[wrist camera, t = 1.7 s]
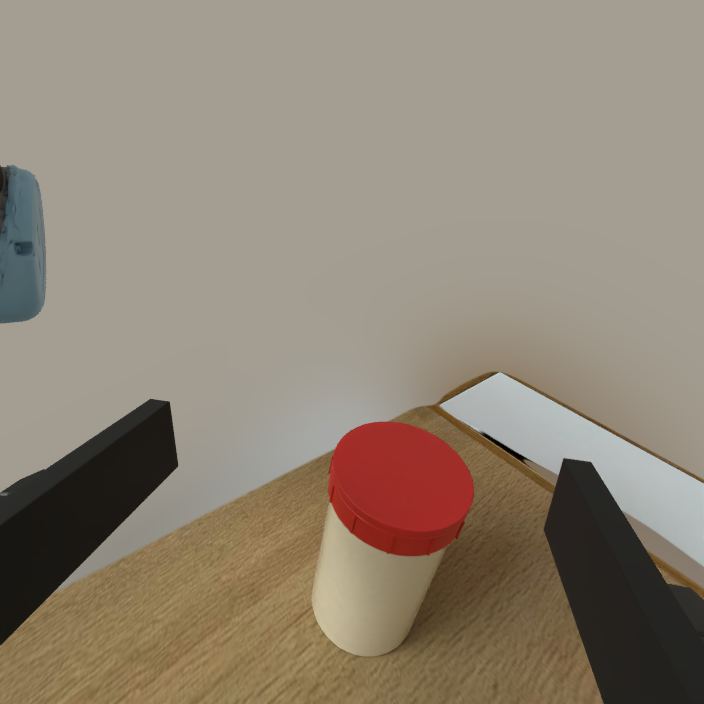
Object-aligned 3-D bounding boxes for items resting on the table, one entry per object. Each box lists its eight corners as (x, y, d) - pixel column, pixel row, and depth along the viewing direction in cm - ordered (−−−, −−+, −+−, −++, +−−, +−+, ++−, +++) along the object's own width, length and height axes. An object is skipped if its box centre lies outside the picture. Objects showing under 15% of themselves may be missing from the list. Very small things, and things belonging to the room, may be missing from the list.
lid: (328, 553, 18) (334, 526, 17) (327, 440, 24) (332, 416, 23) (483, 560, 19) (496, 535, 18) (442, 449, 25) (451, 426, 24)
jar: (309, 656, 23) (337, 531, 17) (312, 546, 29) (334, 426, 23) (424, 657, 24) (486, 538, 18) (404, 550, 30) (446, 436, 24)
